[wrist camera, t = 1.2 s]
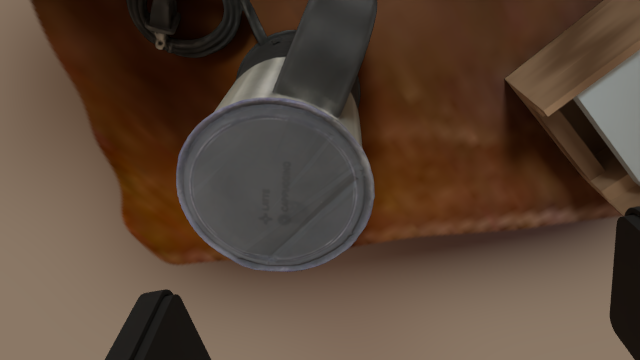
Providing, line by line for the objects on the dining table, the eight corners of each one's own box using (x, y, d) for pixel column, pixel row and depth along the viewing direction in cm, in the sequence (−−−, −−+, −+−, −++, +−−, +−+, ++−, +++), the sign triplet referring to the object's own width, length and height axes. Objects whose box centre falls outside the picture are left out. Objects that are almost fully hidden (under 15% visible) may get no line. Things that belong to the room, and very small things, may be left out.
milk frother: (352, 155, 36) (364, 281, 23) (154, 141, 36) (50, 259, 22) (375, -44, 29) (410, -29, 16) (130, -63, 29) (-38, -63, 16)
